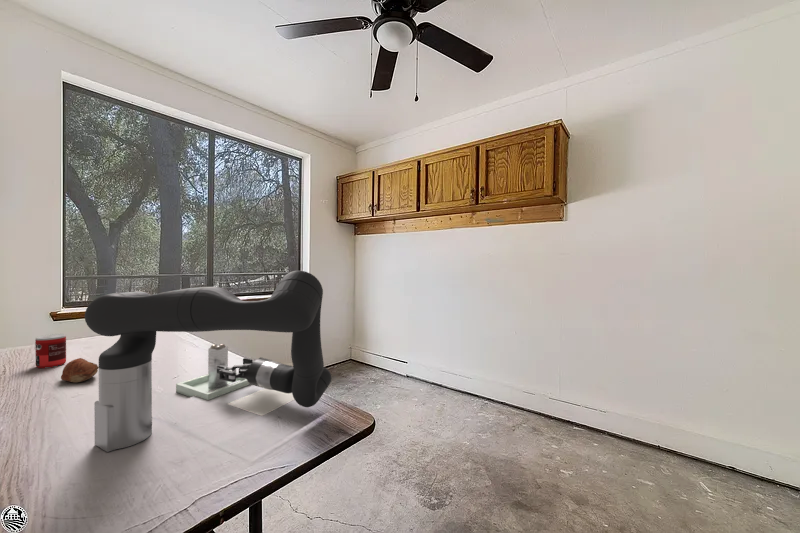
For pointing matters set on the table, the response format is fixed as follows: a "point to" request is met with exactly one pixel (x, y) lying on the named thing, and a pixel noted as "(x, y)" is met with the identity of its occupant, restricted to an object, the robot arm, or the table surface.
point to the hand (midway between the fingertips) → (231, 364)
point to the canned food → (50, 350)
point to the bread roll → (79, 370)
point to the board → (263, 401)
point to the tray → (206, 387)
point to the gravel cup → (216, 358)
